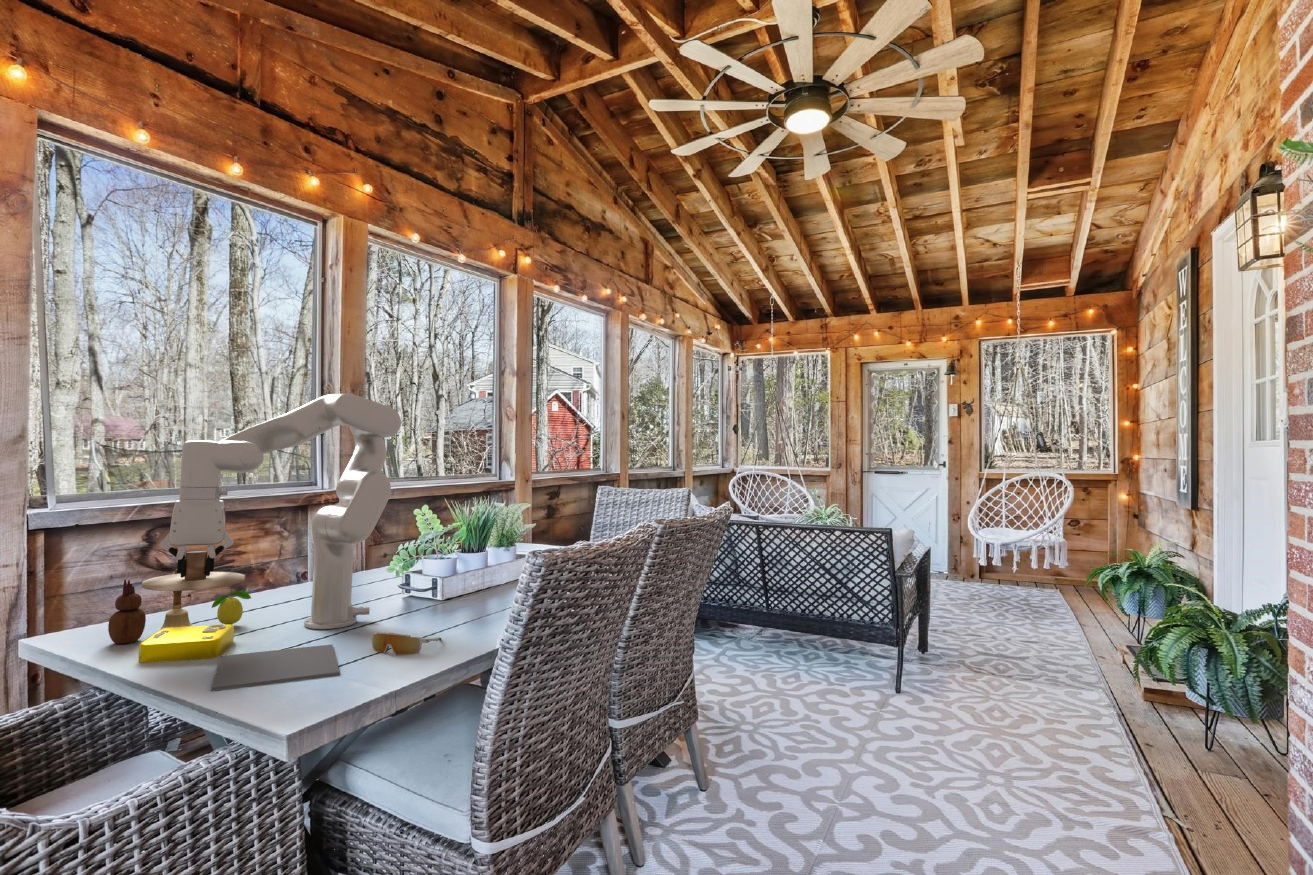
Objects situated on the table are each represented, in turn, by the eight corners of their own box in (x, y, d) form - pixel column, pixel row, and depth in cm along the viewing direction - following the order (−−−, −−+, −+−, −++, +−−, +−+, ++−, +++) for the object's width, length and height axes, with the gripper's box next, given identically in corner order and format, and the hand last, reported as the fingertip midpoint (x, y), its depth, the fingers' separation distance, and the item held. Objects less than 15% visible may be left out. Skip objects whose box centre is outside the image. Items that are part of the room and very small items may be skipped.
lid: (245, 573, 160) (246, 545, 160) (244, 586, 144) (245, 556, 144) (148, 578, 150) (150, 548, 150) (135, 593, 134) (137, 560, 134)
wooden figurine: (121, 647, 149) (125, 581, 149) (101, 644, 150) (105, 579, 151) (150, 639, 155) (153, 576, 156) (130, 637, 157) (134, 574, 157)
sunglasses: (359, 653, 150) (362, 630, 151) (396, 645, 165) (399, 624, 165) (415, 658, 147) (418, 636, 148) (448, 650, 162) (450, 629, 163)
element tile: (161, 645, 152) (162, 625, 152) (235, 641, 157) (236, 621, 157) (134, 665, 138) (136, 642, 138) (217, 660, 143) (218, 638, 143)
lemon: (250, 624, 172) (252, 585, 172) (235, 629, 166) (237, 590, 166) (225, 623, 172) (227, 584, 172) (209, 628, 166) (211, 589, 166)
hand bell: (151, 639, 155) (155, 572, 156) (158, 631, 162) (162, 567, 163) (193, 636, 159) (197, 570, 160) (199, 628, 166) (202, 565, 167)
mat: (332, 646, 154) (332, 644, 154) (339, 674, 135) (339, 671, 135) (220, 658, 143) (220, 655, 143) (211, 690, 124) (211, 687, 124)
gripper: (244, 493, 155) (239, 570, 155) (156, 493, 147) (151, 575, 146) (243, 495, 149) (238, 576, 148) (151, 495, 140) (146, 581, 140)
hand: (195, 574), depth 147 cm, fingers closed on lid, 4 cm apart
